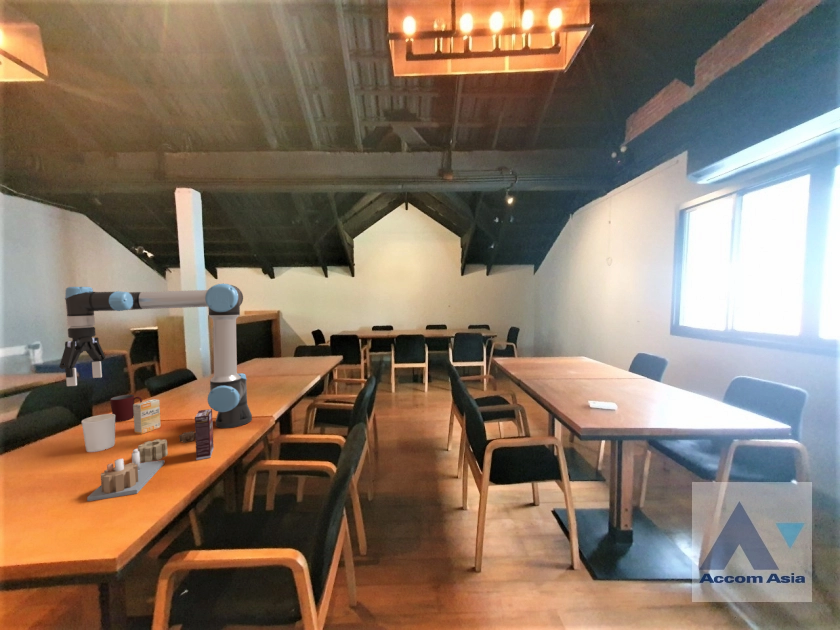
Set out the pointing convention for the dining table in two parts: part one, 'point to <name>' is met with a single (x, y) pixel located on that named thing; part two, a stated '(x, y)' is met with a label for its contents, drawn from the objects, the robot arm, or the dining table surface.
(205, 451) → the supplement box
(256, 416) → the dining table surface
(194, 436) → the gear
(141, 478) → the gear board
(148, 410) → the supplement box
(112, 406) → the mug
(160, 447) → the maple gear
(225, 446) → the dining table surface
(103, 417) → the candle holder
